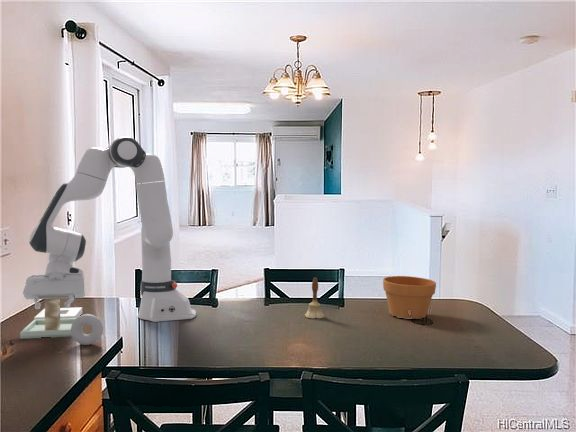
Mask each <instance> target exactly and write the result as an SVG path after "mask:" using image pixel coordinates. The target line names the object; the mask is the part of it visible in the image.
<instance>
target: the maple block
mask: <svg viewBox="0 0 576 432" xmlns="http://www.w3.org/2000/svg"><path fill="white" fill-rule="evenodd" d="M44 308H45V330H58V329H59V328H60V308H61V298H59V299H45V301H44Z"/></svg>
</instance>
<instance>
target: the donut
mask: <svg viewBox="0 0 576 432" xmlns="http://www.w3.org/2000/svg"><path fill="white" fill-rule="evenodd" d="M87 325H88V326H90V328H91V331H90V333H88V334H87V333H85V332H84V331H83V327H84V326H87ZM103 332H104V326H103V323H102V321H101V320H100V319H99V318H98V316H96V315H94V314H91V313H85V314H82V315H81V316H79V317H77V318H76V319H75V320H74V321H73V323H72V326H71V334H72V338H73V340H74V341H75V342H77V343H78V344H80V345H82V346H83V345H84V346H90V344H91V345H94V344H95V343H97V342H98V341H99V340H100V339H101V338H102V335H103Z"/></svg>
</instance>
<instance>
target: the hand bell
mask: <svg viewBox="0 0 576 432" xmlns="http://www.w3.org/2000/svg"><path fill="white" fill-rule="evenodd" d="M311 289H312V302H310V303H308V308H307V311H306V313H305V314H304V315H305V316H306V317H308V318H322V317H324V318H325V315H324V314H323V313H322V309H321V304H320V303H319V302H318V291H319V281H318V278H317V277H313V279H312V282H311ZM308 318H307V319H308Z"/></svg>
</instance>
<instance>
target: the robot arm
mask: <svg viewBox="0 0 576 432" xmlns="http://www.w3.org/2000/svg"><path fill="white" fill-rule="evenodd" d="M113 168H119V169H120V168H121V169H122V168H130V169H131V170H132V172H133V174H134V180H135V188H136V189H135V190H136V196H137V204H138V208H139V214H140V221H141V228H140V229H141V232H140V233H141V239H140V240H141V263H142V264H141V270H142V271H141V272H142V273H141V281H140V296H141V300H140V306H139V308H138V309H139V310H138V312H137V313H138V314H137V318H139V319H141V320H145V321H146V320H147V321H150V322H153V323H155V322H156V323H157V322H158V323H159V322H169V321H178V320H180V321H181V320H191V319H195V317H196V316H197V311H196V310H195V309H194V308H192V306H191V303H190V300H189V298H188V297H187V296H186V295H185V294H183V293H181V291H179V290H178V289H177V288H178V283H177V282H176V281H175V280H173V279H172V256H171V255H172V254H171V241H172V240H173V237H174V230H173V223H172V222H173V221H172V218H171V217H172V216H171V213H170V211H171V210H170V206H169V202H168V194H167V188H166V179H165V173H164V168H163V166H162V162H161V160H160V158H159V156H157V155H156V154H154V153H153V154H152V153H146V151H145V150H144V149H143V147H142V146H141V144H140V143H139V142H138V141H137V140H136V139H135V138H133V137H131V136H120V137H117V138H116V139H114V140H113V141H112V142H111V143H110V145H108V147H107V148H102V147H97V146H96V147H94V146H93V147H90V148H89V147H88V149H86V150H85V152H84V154H83V156H82V157H81V159H80V162H79V164H78V165H77V168H76V172H75V174H74V175H73V178H72V179H71V180H70V181H68V182H64V183H63V184H61V185H60V187H59V188H58V190H57V191H56V193H55V194H54V196H53V197H52V199H51V201H50V203H49V204H48V207H47V208H46V209H45V211H44V213H43V215H42V217H41V218H40V220H39V222H38V223H37V225H36V226H35V227H34V229H33V230H32V231H31V233H30V237H29V245H30V246H31V248H32V250H34V251H35V252H38V253H45V254H46V253H47V254H49V256H48V263H47V265H46V267H45V268H46V269H45V272H44V273H45V274H33V275H31V276H29V277H27V278H26V280H25V286H24V288H23V291H22V294H23V297H24V298H25V300H33V302H34V309H35V310H40V309H41V306H42V304H41V302H39V300H48V299H68V300H67V301H64V304H63V308H70V306H71V304H72V303H73V302H74V301H75V299H83V298H84V297H85V296H86V294H87V293H86V292H87V287H86V282H85V275H84V271H83V270H82V269H81V268H78V267H74V266H73V264H74V263H75V262H77V261H79V260H81V258H82V257H83V256H84V254H85V251H86V250H85V249H86V245H87V244H86V243H87V239H86V238H85V236H84V234H82V233H80V232H76V231H72V230H68V229H63V228H59V227H56V226H54V225H53V224H54V222H55V220H56V218H57V216H58V215H59V213H60V211H61V209H62V208H63V206H64V205H65V204H67V203H70V202H75V201H76V202H78V201H80V202H81V201H89V200H94V199H96V198H98V197H99V196H100V195H102V193H103V191H104V189H105V188H106V184H107V181H108V179H109V175H110V173H111V171H112V170H113Z"/></svg>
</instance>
